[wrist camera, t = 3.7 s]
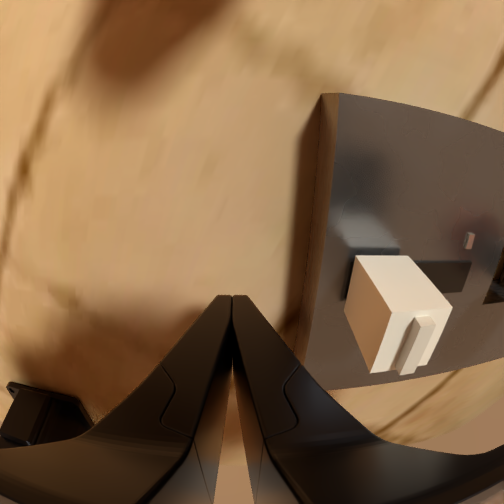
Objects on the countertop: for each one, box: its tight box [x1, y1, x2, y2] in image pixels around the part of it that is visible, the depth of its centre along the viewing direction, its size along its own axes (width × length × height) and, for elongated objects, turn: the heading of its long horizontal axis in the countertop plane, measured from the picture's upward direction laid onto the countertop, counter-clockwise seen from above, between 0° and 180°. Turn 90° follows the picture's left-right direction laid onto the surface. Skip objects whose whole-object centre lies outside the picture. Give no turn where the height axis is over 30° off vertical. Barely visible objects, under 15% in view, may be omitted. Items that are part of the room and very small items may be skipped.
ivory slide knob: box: [344, 255, 453, 375], centre depth 9 cm, size 2×2×3 cm
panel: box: [294, 93, 504, 390], centre depth 12 cm, size 12×20×2 cm, turn 88°
